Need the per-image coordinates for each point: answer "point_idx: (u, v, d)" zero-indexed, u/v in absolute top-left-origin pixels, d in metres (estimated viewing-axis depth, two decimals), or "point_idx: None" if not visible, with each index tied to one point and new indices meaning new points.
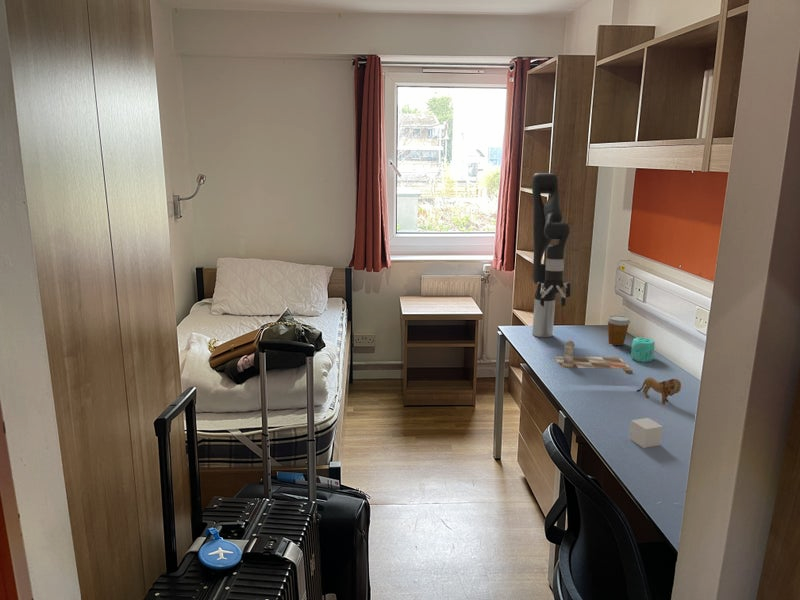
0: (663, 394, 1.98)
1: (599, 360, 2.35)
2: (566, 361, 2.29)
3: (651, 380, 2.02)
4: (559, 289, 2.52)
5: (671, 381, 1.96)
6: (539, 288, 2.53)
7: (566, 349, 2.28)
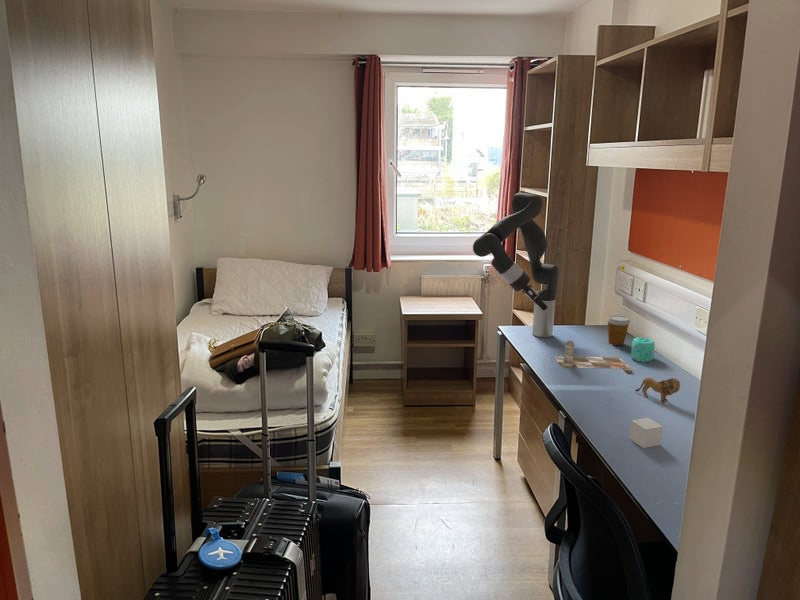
0: (662, 394, 1.99)
1: (599, 360, 2.35)
2: (566, 361, 2.29)
3: (650, 380, 2.03)
4: None
5: (670, 381, 1.97)
6: None
7: (566, 349, 2.28)
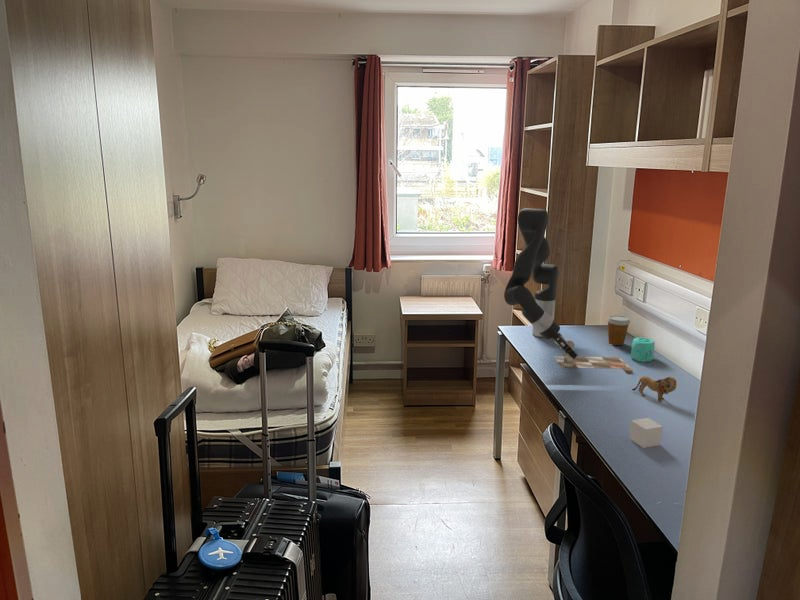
0: (659, 392, 2.00)
1: (599, 360, 2.35)
2: (566, 361, 2.29)
3: (647, 379, 2.04)
4: (557, 344, 2.27)
5: (667, 380, 1.98)
6: None
7: None
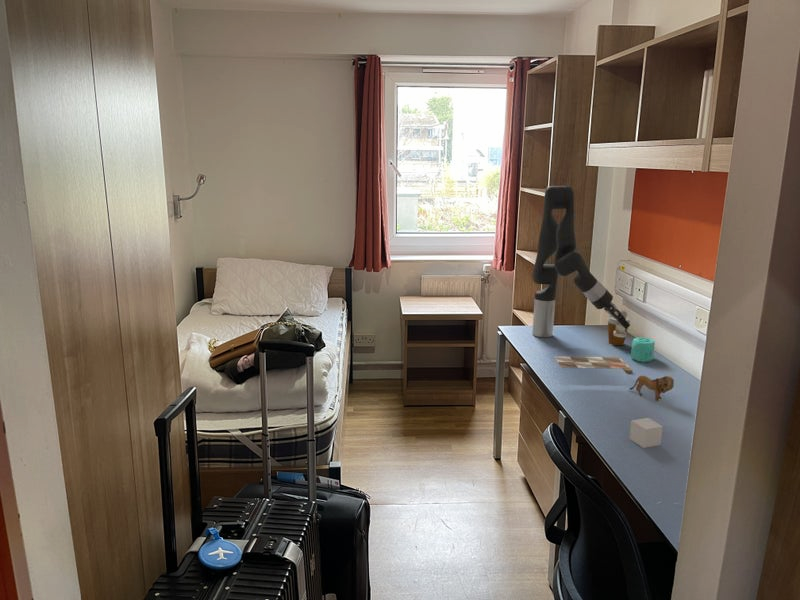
0: (656, 391, 2.00)
1: (599, 360, 2.35)
2: (618, 331, 2.25)
3: (644, 378, 2.04)
4: (609, 314, 2.23)
5: (664, 379, 1.99)
6: None
7: None
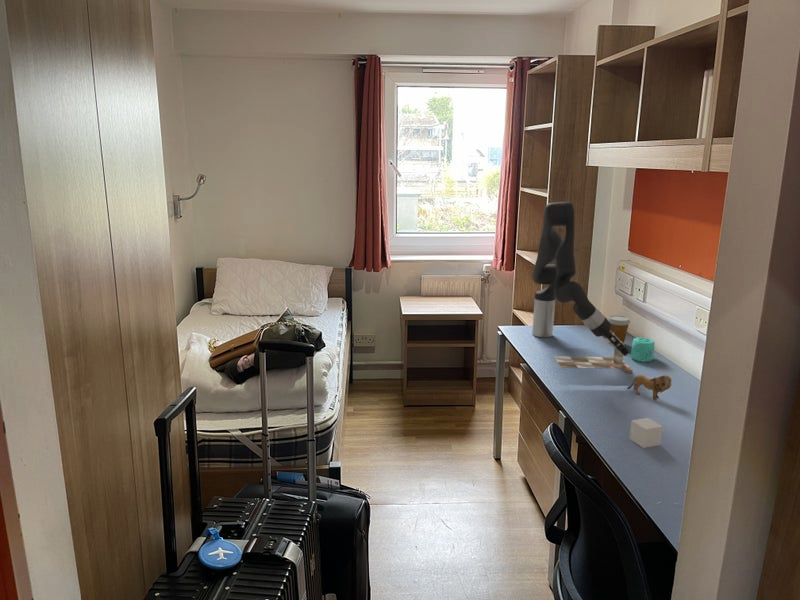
0: (654, 391, 2.01)
1: (599, 360, 2.35)
2: (616, 362, 2.28)
3: (642, 377, 2.05)
4: (608, 341, 2.25)
5: (662, 378, 1.99)
6: None
7: (616, 350, 2.28)
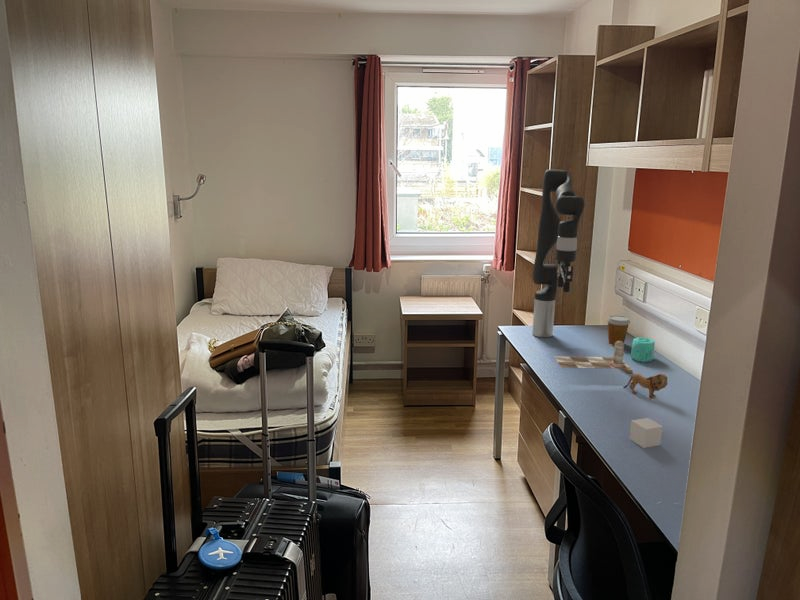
0: (650, 389, 2.02)
1: (599, 360, 2.35)
2: (616, 361, 2.28)
3: (638, 376, 2.06)
4: (561, 271, 2.26)
5: (658, 377, 2.00)
6: (557, 266, 2.34)
7: (616, 349, 2.28)
